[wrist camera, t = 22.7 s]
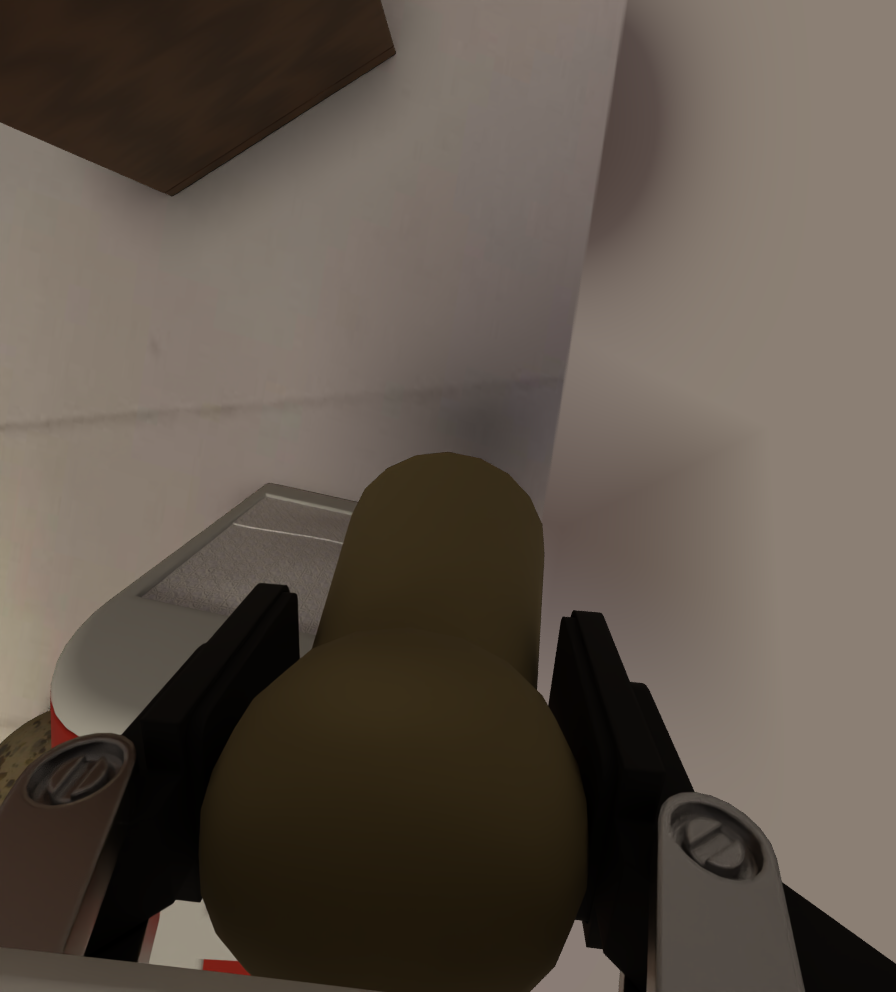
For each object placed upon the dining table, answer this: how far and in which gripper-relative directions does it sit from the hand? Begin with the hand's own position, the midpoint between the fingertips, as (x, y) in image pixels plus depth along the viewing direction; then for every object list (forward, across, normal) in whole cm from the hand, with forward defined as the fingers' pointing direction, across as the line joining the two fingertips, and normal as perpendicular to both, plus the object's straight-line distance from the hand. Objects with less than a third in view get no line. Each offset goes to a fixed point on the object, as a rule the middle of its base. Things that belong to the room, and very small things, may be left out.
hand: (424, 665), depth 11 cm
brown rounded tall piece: (+6, 0, 0) cm, 6 cm away
